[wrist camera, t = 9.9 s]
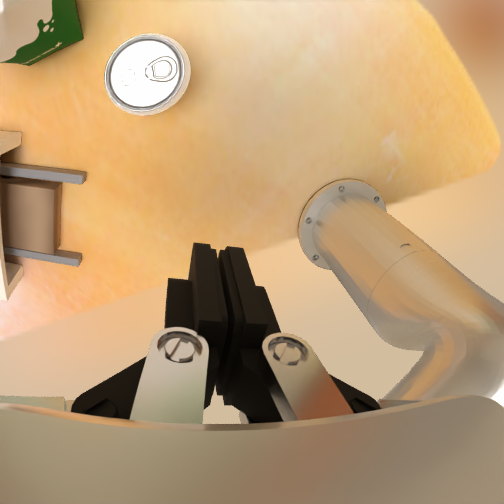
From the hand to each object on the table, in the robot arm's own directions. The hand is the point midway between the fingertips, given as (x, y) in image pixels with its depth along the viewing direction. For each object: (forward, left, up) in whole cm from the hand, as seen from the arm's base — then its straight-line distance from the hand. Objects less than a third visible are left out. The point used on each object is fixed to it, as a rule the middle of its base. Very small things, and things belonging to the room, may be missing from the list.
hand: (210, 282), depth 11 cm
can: (+5, -7, -26) cm, 27 cm away
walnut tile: (+20, +10, -26) cm, 34 cm away
